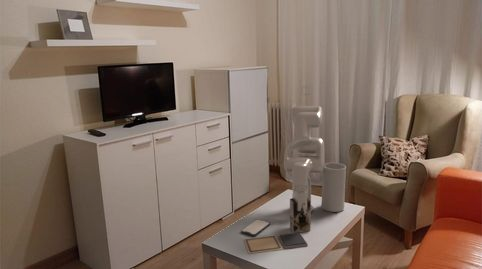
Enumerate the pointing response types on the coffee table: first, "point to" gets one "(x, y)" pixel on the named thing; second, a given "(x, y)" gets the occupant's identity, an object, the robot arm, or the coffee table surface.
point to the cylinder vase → (333, 187)
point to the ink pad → (292, 240)
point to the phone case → (255, 228)
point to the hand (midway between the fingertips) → (300, 219)
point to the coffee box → (295, 215)
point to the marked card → (262, 244)
